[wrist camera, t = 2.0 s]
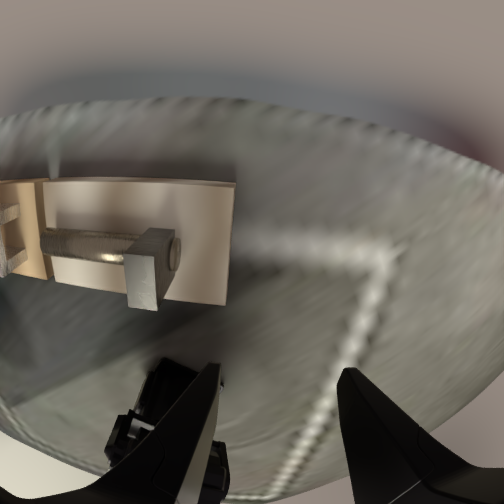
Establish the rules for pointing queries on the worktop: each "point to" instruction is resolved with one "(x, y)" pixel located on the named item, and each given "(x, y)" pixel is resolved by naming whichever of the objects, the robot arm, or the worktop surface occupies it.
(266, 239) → the worktop surface
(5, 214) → the keeper
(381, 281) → the worktop surface
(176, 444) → the robot arm
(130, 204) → the door jamb
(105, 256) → the bolt
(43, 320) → the worktop surface
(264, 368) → the worktop surface
